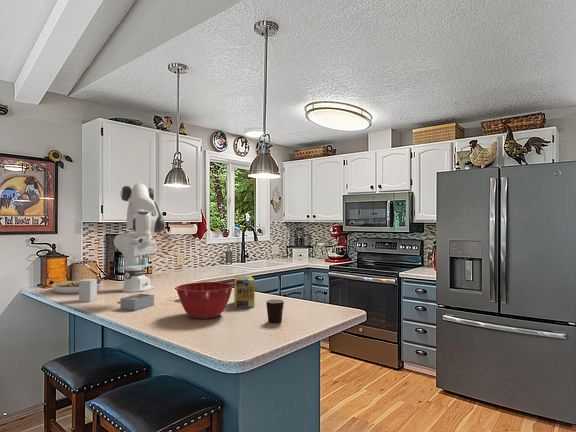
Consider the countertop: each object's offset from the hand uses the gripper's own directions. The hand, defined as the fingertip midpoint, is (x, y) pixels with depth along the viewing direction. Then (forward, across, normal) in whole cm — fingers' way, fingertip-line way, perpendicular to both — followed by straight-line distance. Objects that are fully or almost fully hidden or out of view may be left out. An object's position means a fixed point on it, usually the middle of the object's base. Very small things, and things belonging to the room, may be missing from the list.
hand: (143, 262), depth 230 cm
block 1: (+22, +14, +7) cm, 27 cm away
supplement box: (+24, +9, -34) cm, 43 cm away
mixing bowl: (+23, +12, +51) cm, 57 cm away
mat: (+24, 0, -7) cm, 25 cm away
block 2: (+23, +8, +6) cm, 25 cm away
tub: (+23, +11, +6) cm, 27 cm away
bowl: (+26, -13, -69) cm, 75 cm away
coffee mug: (+22, +7, +89) cm, 92 cm away
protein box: (+24, -19, +57) cm, 65 cm away
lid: (+2, +6, 0) cm, 6 cm away
